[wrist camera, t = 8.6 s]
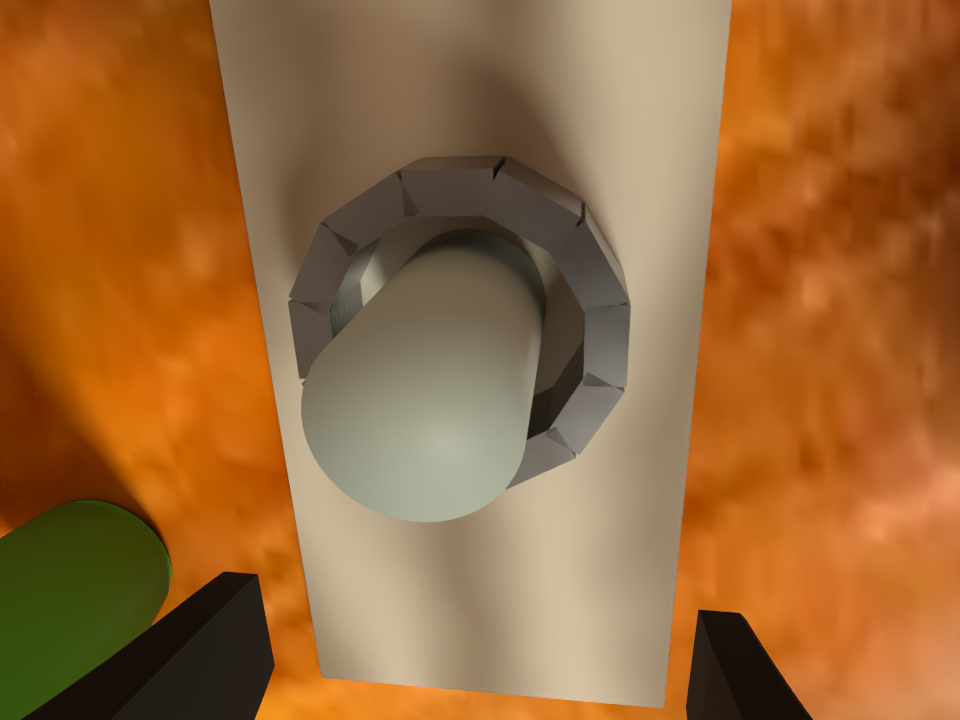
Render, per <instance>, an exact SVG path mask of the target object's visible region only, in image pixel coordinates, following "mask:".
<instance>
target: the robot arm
mask: <svg viewBox="0 0 960 720" xmlns="http://www.w3.org/2000/svg"><path fill="white" fill-rule="evenodd" d="M274 666H275V664H274V659H273V653H272V648H271V643H270V637H269V632H268V627H267V621H266V616H265V611H264V605H263V600H262V595H261V589H260V584H259V578H258V574H248V573H235V572H223V573H221V574H220V575H219V576H217V577H216V578H214V579H213V580H212V581H210V582H209V583H208V584H206V585H205V586H204V587H202V588H201V589H200V590H198V591H197V592H196V593H194V594H193V595H192V596H190V597H189V598H188V599H186V600H185V601H184V602H183V603H181V604H180V605H179V606H177V607H176V608H175V609H174V610H172V611H171V612H170V613H168V614H167V615H166V616H164V617H163V618H162V619H161V620H159V621H158V622H157V623H155V624H154V625H153V626H151V627H150V628H149V629H147V630H146V631H145V632H143V633H142V634H141V635H139V636H138V637H137V638H135V639H134V640H133V641H131V642H130V643H129V644H127V645H126V646H125V647H123V648H122V649H121V650H119V651H118V652H117V653H115V654H114V655H113V656H111V657H110V658H109V659H107V660H106V661H105V662H103V663H102V664H100V665H99V666H97V667H96V668H95V669H93V670H92V671H90V672H89V673H87V674H86V675H85V676H83V677H82V678H80V679H79V680H77V681H76V682H75V683H73V684H72V685H70V686H69V687H67V688H66V689H65V690H63V691H62V692H60V693H59V694H58V695H56V696H55V697H53V698H52V699H50V700H49V701H48V702H46V703H45V704H43V705H42V706H40V707H39V708H37V709H36V710H34V711H33V712H31V713H30V714H28V715H27V716H25V717H24V718H22V719H20V720H254V719H255V717H256V714H257V712H258V709H259V707H260V704H261V702H262V699H263V697H264V694H265V691H266V688H267V686H268V683H269V680H270V677H271V675H272V672H273V669H274ZM686 711H687V720H813V719H812V718H811V716H810V715H809V714H808V712H807V711H806V709H805V708H804V707H803V705H802V704H801V702H800V701H799V700H798V698H797V697H796V695H795V694H794V692H793V691H792V690H791V688H790V687H789V685H788V684H787V682H786V681H785V679H784V678H783V676H782V675H781V673H780V672H779V670H778V669H777V667H776V666H775V664H774V663H773V661H772V660H771V658H770V657H769V655H768V654H767V652H766V651H765V649H764V648H763V646H762V644H761V643H760V641H759V640H758V638H757V636H756V635H755V633H754V632H753V630H752V628H751V627H750V625H749V624H748V622H747V620H746V619H745V618H744V617H743V616H742V615H741V614H740V613H733V612H721V611H708V610H698V618H697V625H696V633H695V641H694V649H693V657H692V664H691V672H690V680H689V688H688V696H687V703H686Z"/></svg>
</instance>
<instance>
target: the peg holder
mask: <svg viewBox="0 0 960 720" xmlns="http://www.w3.org/2000/svg"><path fill="white" fill-rule="evenodd" d="M209 3H210V9H211V15H212V21H213V27H214V33H215V39H216V45H217V51H218V57H219V63H220V69H221V75H222V81H223V87H224V94H225V100H226V106H227V112H228V118H229V124H230V130H231V136H232V142H233V148H234V154H235V160H236V166H237V172H238V178H239V184H240V190H241V196H242V202H243V208H244V214H245V220H246V226H247V232H248V238H249V244H250V250H251V256H252V262H253V268H254V274H255V280H256V286H257V292H258V298H259V304H260V310H261V316H262V322H263V328H264V334H265V340H266V346H267V352H268V358H269V364H270V370H271V376H272V382H273V388H274V394H275V400H276V406H277V412H278V418H279V424H280V430H281V436H282V442H283V448H284V454H285V460H286V466H287V472H288V478H289V484H290V490H291V496H292V502H293V508H294V514H295V520H296V526H297V532H298V538H299V544H300V550H301V556H302V562H303V568H304V574H305V580H306V586H307V592H308V598H309V604H310V610H311V616H312V622H313V628H314V634H315V640H316V646H317V652H318V658H319V664H320V670H321V676H322V678H330V679H341V680H353V681H364V682H375V683H386V684H397V685H408V686H420V687H431V688H442V689H453V690H464V691H476V692H487V693H498V694H509V695H520V696H531V697H543V698H554V699H565V700H576V701H587V702H599V703H610V704H621V705H632V706H643V707H654V708H664V701H665V691H666V681H667V670H668V660H669V649H670V639H671V629H672V618H673V608H674V597H675V587H676V577H677V566H678V556H679V546H680V535H681V525H682V514H683V504H684V494H685V483H686V473H687V462H688V452H689V442H690V431H691V421H692V410H693V400H694V390H695V379H696V369H697V359H698V348H699V338H700V327H701V317H702V307H703V296H704V286H705V275H706V265H707V255H708V244H709V234H710V224H711V213H712V203H713V192H714V182H715V172H716V161H717V151H718V140H719V130H720V120H721V109H722V99H723V89H724V78H725V68H726V57H727V47H728V37H729V26H730V16H731V5H732V0H209ZM458 229H480V230H485V231H489V232H493V233H496V234H498V235H501V236H503V237H505V238H507V239H508V240H510V241H512V242H513V243H515V244H516V245H517V246H519V247H520V248H521V249H522V250H523V251H524V252H525V253H526V254H527V255H528V256H529V258H530V259H531V260H532V261H533V263H534V264H535V266H536V268H537V269H538V271H539V273H540V276H541V278H542V281H543V284H544V288H545V294H546V313H545V320H544V327H543V333H542V340H541V346H540V353H539V360H538V366H537V373H536V379H535V386H534V393H533V399H532V406H531V412H530V419H529V425H528V432H527V439H526V445H525V451H524V454H523V458H522V461H521V464H520V466H519V468H518V470H517V472H516V474H515V476H514V477H513V479H512V480H511V482H510V483H509V485H508V486H507V487H506V488H505V489H504V490H503V492H502V493H501V494H500V495H499V496H497V497H496V498H495V499H494V500H493V501H491V502H490V503H489V504H487V505H485V506H484V507H482V508H481V509H479V510H477V511H475V512H473V513H470V514H468V515H466V516H462V517H459V518H456V519H452V520H446V521H440V522H412V521H406V520H400V519H396V518H392V517H389V516H385V515H383V514H380V513H378V512H375V511H373V510H371V509H369V508H367V507H365V506H363V505H361V504H359V503H358V502H356V501H355V500H353V499H352V498H350V497H349V496H347V495H346V494H345V493H344V492H343V491H341V490H340V489H339V488H338V487H337V486H336V485H335V484H334V483H333V482H332V481H331V480H330V479H329V478H328V477H327V475H326V474H325V473H324V472H323V470H322V469H321V468H320V466H319V465H318V463H317V461H316V460H315V458H314V456H313V455H312V452H311V450H310V448H309V446H308V443H307V441H306V437H305V434H304V430H303V425H302V419H301V399H302V391H303V387H304V384H305V380H306V377H307V375H308V373H309V370H310V368H311V366H312V364H313V363H314V361H315V360H316V358H317V357H318V355H319V354H320V353H321V352H322V351H323V350H324V348H325V347H326V346H327V345H328V344H329V343H330V342H331V341H332V340H333V339H334V338H335V337H336V336H337V335H338V333H339V332H340V331H341V330H342V329H343V328H344V327H345V326H346V325H347V324H348V323H349V322H350V321H351V320H352V319H353V318H354V317H355V315H356V314H357V313H358V312H359V311H360V310H361V309H362V308H363V307H364V306H365V305H366V304H367V303H368V302H369V301H370V300H371V299H372V297H373V296H374V295H375V294H376V293H377V292H378V291H379V290H380V289H381V288H382V287H383V286H384V285H385V284H386V283H387V282H388V281H389V279H390V278H391V277H392V276H393V275H394V274H395V273H396V272H397V271H398V270H399V269H400V268H401V267H402V266H403V265H404V264H405V263H406V261H407V260H408V259H409V258H410V257H411V256H412V255H413V254H414V253H415V252H416V251H417V250H418V249H419V248H420V247H421V246H422V245H423V244H425V243H426V242H427V241H429V240H430V239H432V238H434V237H436V236H438V235H440V234H442V233H445V232H449V231H452V230H458Z"/></svg>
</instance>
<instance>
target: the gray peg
mask: <svg viewBox="0 0 960 720" xmlns="http://www.w3.org/2000/svg"><path fill="white" fill-rule="evenodd" d="M545 313H546V294H545V288H544V284H543V281H542V278H541V276H540V273H539V271H538V269H537V268H536V266H535V264H534V263H533V261H532V260H531V259H530V258H529V256H528V255H527V254H526V253H525V252H524V251H523V250H522V249H521V248H520V247H519V246H517V245H516V244H515V243H513V242H512V241H510V240H508V239H507V238H505V237H503V236H501V235H498V234H496V233H493V232H489V231H485V230H480V229H458V230H452V231H449V232H445V233H442V234H440V235H438V236H436V237H434V238H432V239H430V240H429V241H427V242H426V243H425V244H423V245H422V246H421V247H420V248H419V249H418V250H417V251H416V252H415V253H414V254H413V255H412V256H411V257H410V258H409V259H408V260H407V261H406V263H405V264H404V265H403V266H402V267H401V268H400V269H399V270H398V271H397V272H396V273H395V274H394V275H393V276H392V277H391V278H390V279H389V281H388V282H387V283H386V284H385V285H384V286H383V287H382V288H381V289H380V290H379V291H378V292H377V293H376V294H375V295H374V296H373V297H372V299H371V300H370V301H369V302H368V303H367V304H366V305H365V306H364V307H363V308H362V309H361V310H360V311H359V312H358V313H357V314H356V315H355V317H354V318H353V319H352V320H351V321H350V322H349V323H348V324H347V325H346V326H345V327H344V328H343V329H342V330H341V331H340V332H339V333H338V335H337V336H336V337H335V338H334V339H333V340H332V341H331V342H330V343H329V344H328V345H327V346H326V347H325V348H324V350H323V351H322V352H321V353H320V354H319V355H318V357H317V358H316V360H315V361H314V363H313V364H312V366H311V368H310V370H309V373H308V375H307V377H306V380H305V384H304V387H303V391H302V399H301V419H302V425H303V430H304V434H305V437H306V441H307V443H308V446H309V448H310V450H311V452H312V455H313V456H314V458H315V460H316V461H317V463H318V465H319V466H320V468H321V469H322V470H323V472H324V473H325V474H326V475H327V477H328V478H329V479H330V480H331V481H332V482H333V483H334V484H335V485H336V486H337V487H338V488H339V489H340V490H341V491H343V492H344V493H345V494H346V495H347V496H349V497H350V498H352V499H353V500H355V501H356V502H358V503H359V504H361V505H363V506H365V507H367V508H369V509H371V510H373V511H375V512H378V513H380V514H383V515H385V516H389V517H392V518H396V519H400V520H406V521H412V522H440V521H446V520H452V519H456V518H459V517H462V516H466V515H468V514H470V513H473V512H475V511H477V510H479V509H481V508H482V507H484V506H485V505H487V504H489V503H490V502H491V501H493V500H494V499H495V498H496V497H497V496H499V495H500V494H501V493H502V492H503V490H504V489H505V488H506V487H507V486H508V485H509V483H510V482H511V480H512V479H513V477H514V476H515V474H516V472H517V470H518V468H519V466H520V464H521V461H522V458H523V454H524V451H525V445H526V439H527V432H528V425H529V419H530V412H531V406H532V399H533V393H534V386H535V379H536V373H537V366H538V360H539V353H540V346H541V340H542V333H543V327H544V320H545Z"/></svg>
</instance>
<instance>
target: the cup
mask: <svg viewBox="0 0 960 720" xmlns="http://www.w3.org/2000/svg"><path fill="white" fill-rule="evenodd" d="M170 578H171V565H170V560H169V556H168V554H167V552H166V550H165V547H164V545H163V543H162V542H161V541H160V539H159V538H158V537H157V535H156V534H155V533H154V531H153V530H152V529H151V528H150V527H148V526H147V525H146V524H145V523H144V522H143V521H142V520H141V519H139V518H138V517H136V516H135V515H133V514H132V513H130V512H128V511H127V510H125V509H122V508H120V507H118V506H115V505H113V504H110V503H106V502H101V501H97V500H80V501H76V502H72V503H67V504H63V505H59V506H55V507H53V508H51V509H50V510H48V511H46V512H44V513H43V514H41V515H39V516H38V517H36V518H34V519H32V520H31V521H29V522H27V523H26V524H24V525H22V526H20V527H19V528H17V529H15V530H14V531H12V532H10V533H8V534H7V535H5V536H3V537H2V538H0V720H20V719H22V718H24V717H25V716H27V715H28V714H30V713H31V712H33V711H34V710H36V709H37V708H39V707H40V706H42V705H43V704H45V703H46V702H48V701H49V700H50V699H52V698H53V697H55V696H56V695H58V694H59V693H60V692H62V691H63V690H65V689H66V688H67V687H69V686H70V685H72V684H73V683H75V682H76V681H77V680H79V679H80V678H82V677H83V676H85V675H86V674H87V673H89V672H90V671H92V670H93V669H95V668H96V667H97V666H99V665H100V664H102V663H103V662H105V661H106V660H107V659H109V658H110V657H111V656H113V655H114V654H115V653H117V652H118V651H119V650H121V649H122V648H123V647H125V646H126V645H127V644H129V643H130V642H131V641H133V640H134V639H135V638H137V637H138V636H139V635H141V634H142V633H143V632H145V631H146V630H147V629H149V628H150V627H151V625H152V623H153V622H154V620H155V618H156V616H157V614H158V612H159V611H160V609H161V607H162V605H163V603H164V601H165V599H166V597H167V594H168V591H169V583H170Z"/></svg>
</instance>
